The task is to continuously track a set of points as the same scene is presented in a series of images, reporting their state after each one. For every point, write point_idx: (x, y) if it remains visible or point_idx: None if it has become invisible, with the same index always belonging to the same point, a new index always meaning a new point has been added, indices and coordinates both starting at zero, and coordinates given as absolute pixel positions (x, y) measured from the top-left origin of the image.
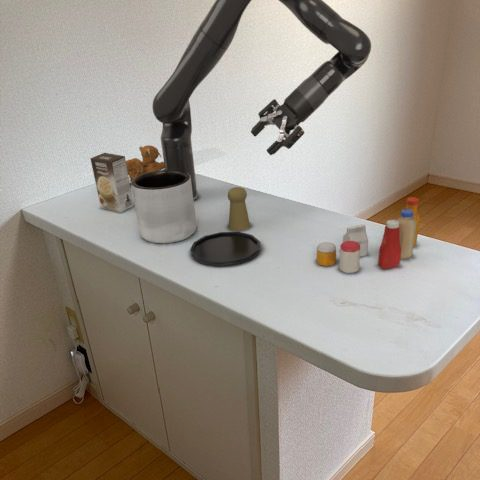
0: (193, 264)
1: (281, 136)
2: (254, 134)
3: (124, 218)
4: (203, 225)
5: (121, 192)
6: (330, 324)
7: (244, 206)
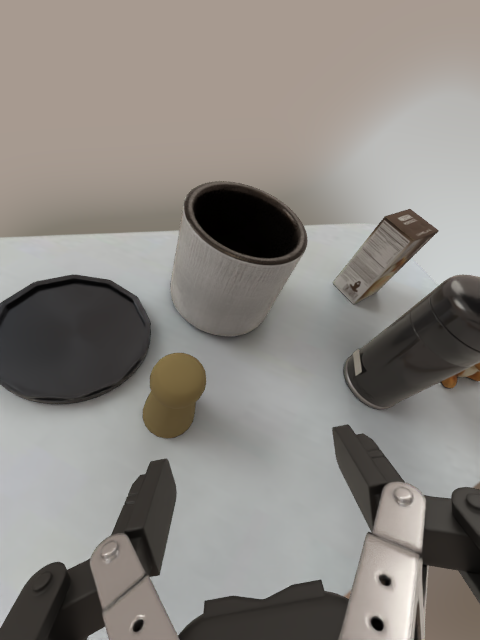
0: (73, 274)
1: (114, 578)
2: (337, 451)
3: (308, 278)
4: (220, 354)
5: (355, 268)
6: None
7: (155, 402)
